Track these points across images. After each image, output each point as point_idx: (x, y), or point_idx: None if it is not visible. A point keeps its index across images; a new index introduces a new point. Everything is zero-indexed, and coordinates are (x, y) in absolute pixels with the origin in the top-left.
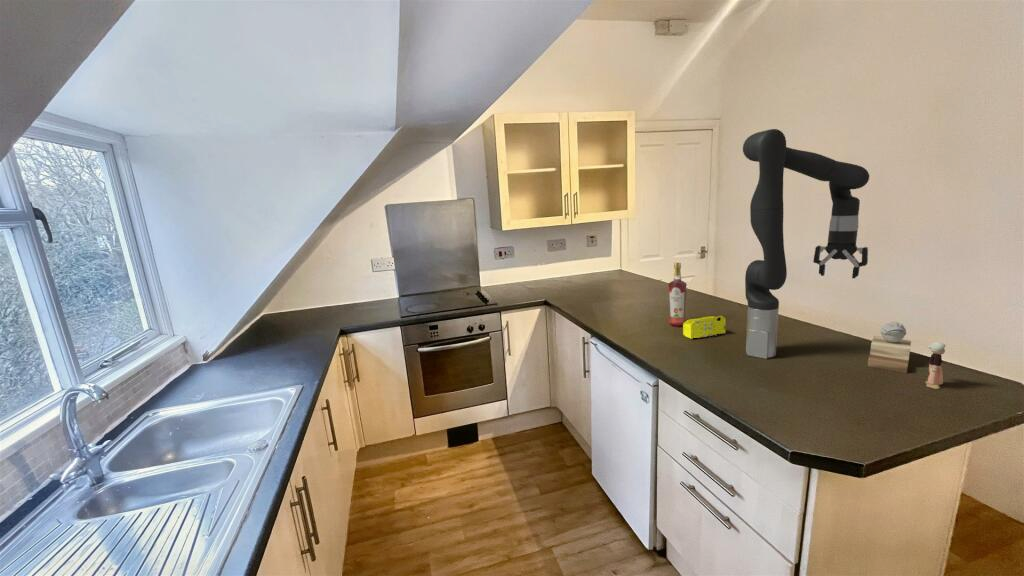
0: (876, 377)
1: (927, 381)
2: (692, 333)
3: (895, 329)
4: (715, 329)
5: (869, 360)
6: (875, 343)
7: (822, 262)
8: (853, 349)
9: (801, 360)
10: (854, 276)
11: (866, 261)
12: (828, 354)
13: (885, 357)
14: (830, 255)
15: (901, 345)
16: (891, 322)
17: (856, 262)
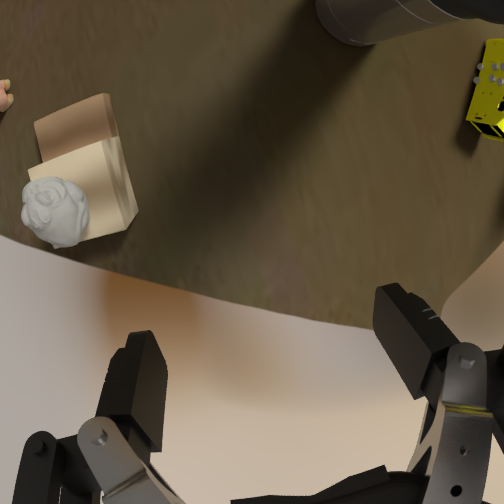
0: (78, 42)
1: (8, 96)
2: (496, 40)
3: (31, 181)
4: (484, 94)
5: (101, 94)
6: (94, 153)
7: (468, 370)
8: (180, 204)
9: (250, 18)
10: (128, 338)
11: (20, 471)
12: (213, 112)
13: (79, 140)
14: (453, 487)
15: None
16: (44, 214)
17: (94, 468)
